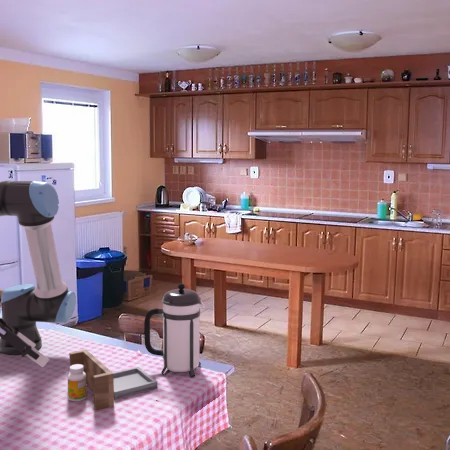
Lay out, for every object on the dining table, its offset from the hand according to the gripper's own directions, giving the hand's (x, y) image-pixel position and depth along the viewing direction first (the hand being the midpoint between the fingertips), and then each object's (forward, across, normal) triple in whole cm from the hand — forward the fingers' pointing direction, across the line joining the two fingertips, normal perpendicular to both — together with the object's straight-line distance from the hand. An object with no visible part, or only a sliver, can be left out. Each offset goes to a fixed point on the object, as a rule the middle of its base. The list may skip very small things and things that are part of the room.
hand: (39, 355), depth 159 cm
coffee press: (+43, -2, +21) cm, 48 cm away
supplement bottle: (+19, 0, -3) cm, 19 cm away
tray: (+30, 0, +8) cm, 31 cm away
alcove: (+21, 0, 0) cm, 21 cm away
